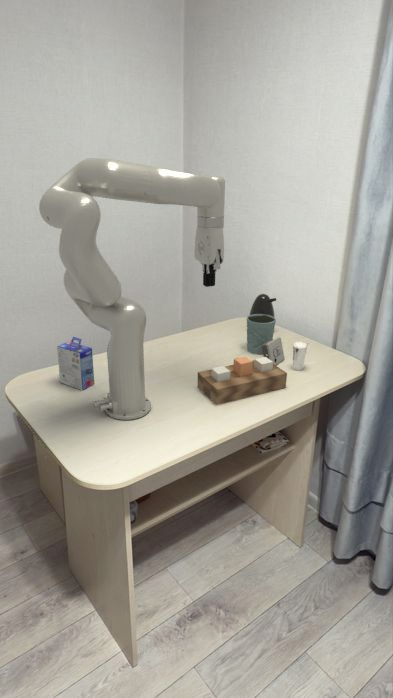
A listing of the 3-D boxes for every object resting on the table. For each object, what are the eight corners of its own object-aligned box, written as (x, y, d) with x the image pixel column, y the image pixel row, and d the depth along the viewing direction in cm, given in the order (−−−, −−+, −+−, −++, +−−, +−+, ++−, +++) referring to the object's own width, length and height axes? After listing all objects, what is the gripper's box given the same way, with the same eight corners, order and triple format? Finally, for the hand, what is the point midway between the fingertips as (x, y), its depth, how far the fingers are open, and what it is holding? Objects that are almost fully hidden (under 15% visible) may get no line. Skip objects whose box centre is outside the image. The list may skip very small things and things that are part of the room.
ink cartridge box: (96, 383, 143) (92, 340, 138) (83, 391, 139) (78, 346, 133) (72, 375, 148) (68, 333, 142) (59, 382, 144) (54, 339, 138)
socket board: (216, 405, 133) (217, 389, 131) (197, 387, 142) (197, 372, 140) (285, 387, 143) (287, 373, 141) (263, 371, 152) (264, 357, 150)
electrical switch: (272, 368, 155) (272, 344, 152) (260, 365, 158) (260, 342, 155) (284, 360, 161) (284, 337, 158) (273, 357, 164) (272, 335, 161)
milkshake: (301, 373, 152) (304, 345, 148) (287, 367, 155) (290, 340, 151) (309, 369, 154) (312, 341, 150) (296, 364, 158) (299, 336, 154)
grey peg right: (260, 383, 143) (262, 364, 140) (253, 378, 146) (254, 359, 143) (271, 380, 144) (273, 361, 142) (264, 375, 148) (265, 356, 145)
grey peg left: (217, 393, 136) (218, 373, 134) (211, 388, 140) (211, 368, 137) (229, 391, 138) (230, 371, 136) (222, 385, 141) (223, 365, 139)
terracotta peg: (239, 383, 139) (240, 364, 136) (232, 378, 142) (233, 358, 140) (251, 381, 141) (252, 361, 138) (244, 375, 144) (245, 356, 141)
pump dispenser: (268, 337, 180) (271, 299, 174) (243, 332, 184) (245, 295, 178) (278, 329, 188) (281, 293, 182) (254, 324, 192) (256, 288, 186)
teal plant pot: (243, 353, 166) (245, 321, 161) (246, 342, 175) (248, 312, 170) (272, 356, 164) (274, 324, 159) (274, 345, 173) (276, 314, 168)
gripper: (186, 219, 137) (186, 281, 144) (211, 227, 124) (209, 293, 132) (209, 218, 140) (208, 278, 147) (235, 225, 128) (232, 290, 135)
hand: (209, 285), depth 139 cm, fingers closed
